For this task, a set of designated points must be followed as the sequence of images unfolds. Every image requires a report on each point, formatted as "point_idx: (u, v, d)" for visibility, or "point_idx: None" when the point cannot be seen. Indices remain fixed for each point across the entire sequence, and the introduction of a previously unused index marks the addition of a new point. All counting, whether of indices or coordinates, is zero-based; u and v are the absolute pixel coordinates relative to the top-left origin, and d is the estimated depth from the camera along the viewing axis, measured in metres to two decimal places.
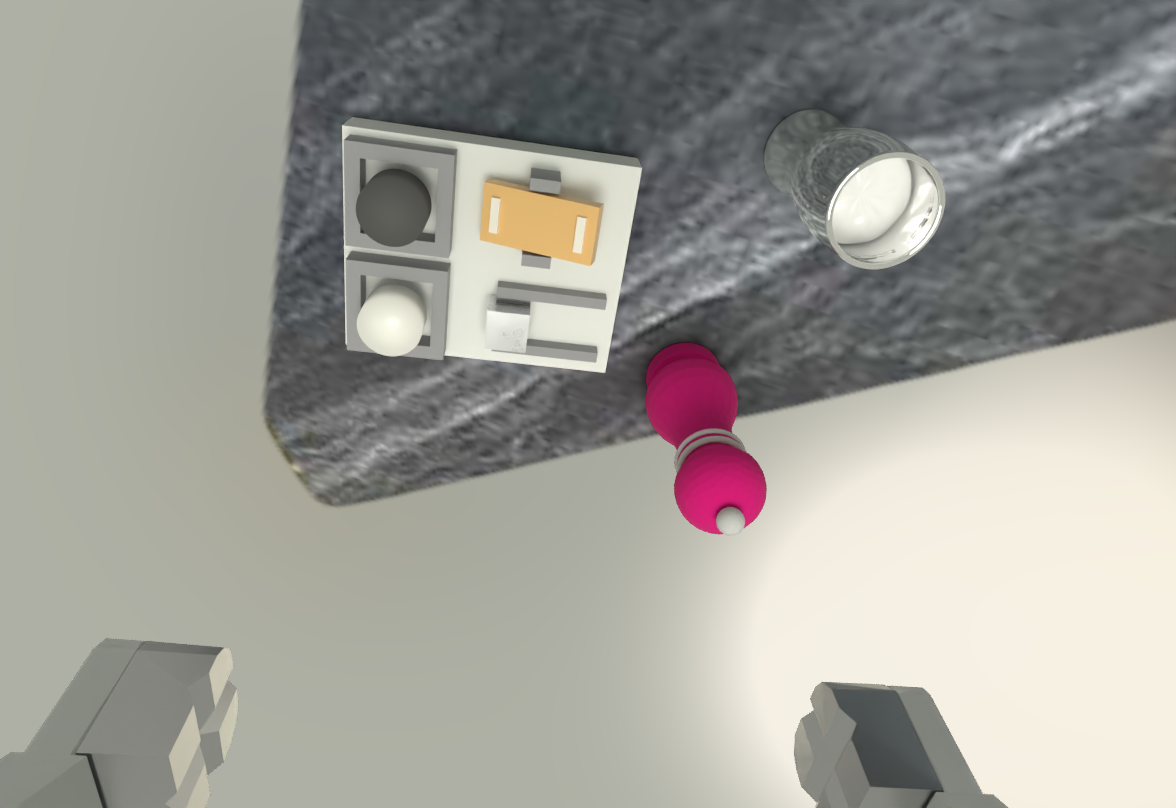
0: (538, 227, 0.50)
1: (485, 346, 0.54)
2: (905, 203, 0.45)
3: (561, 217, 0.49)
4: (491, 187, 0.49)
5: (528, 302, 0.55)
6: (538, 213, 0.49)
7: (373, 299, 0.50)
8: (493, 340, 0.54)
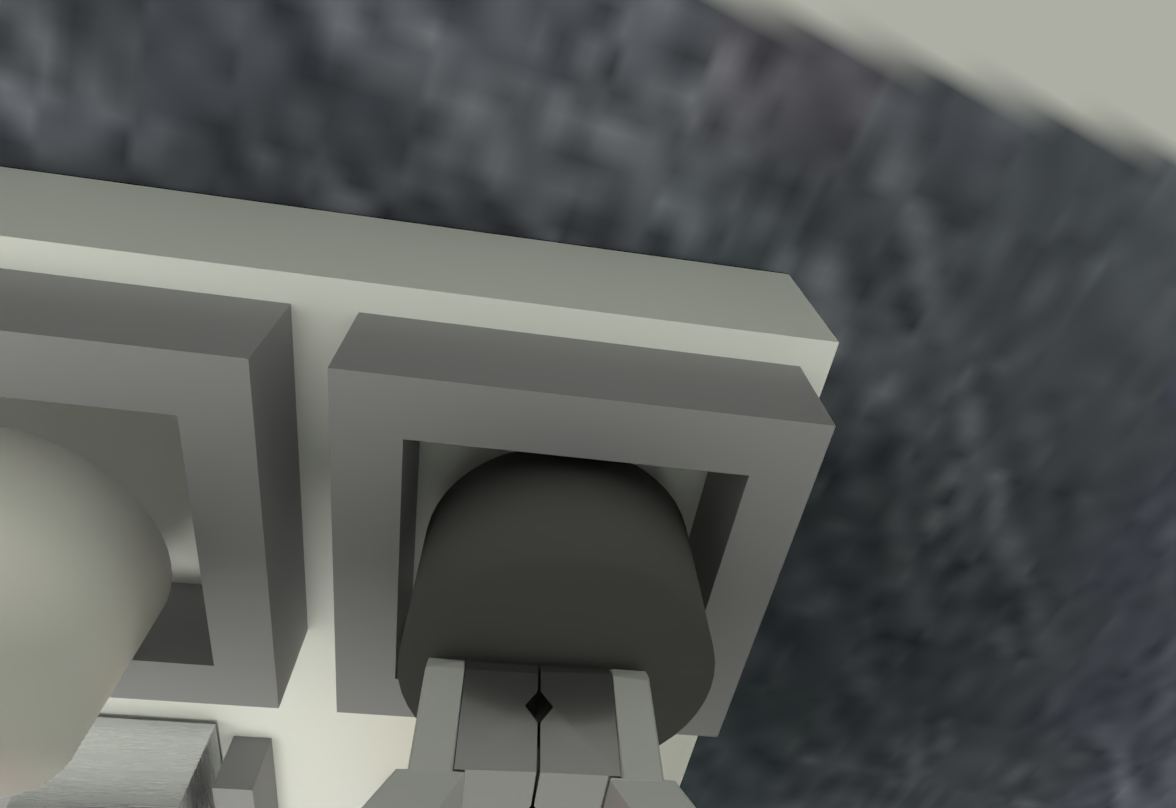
0: None
1: None
2: None
3: None
4: None
5: None
6: None
7: (38, 630, 0.08)
8: None
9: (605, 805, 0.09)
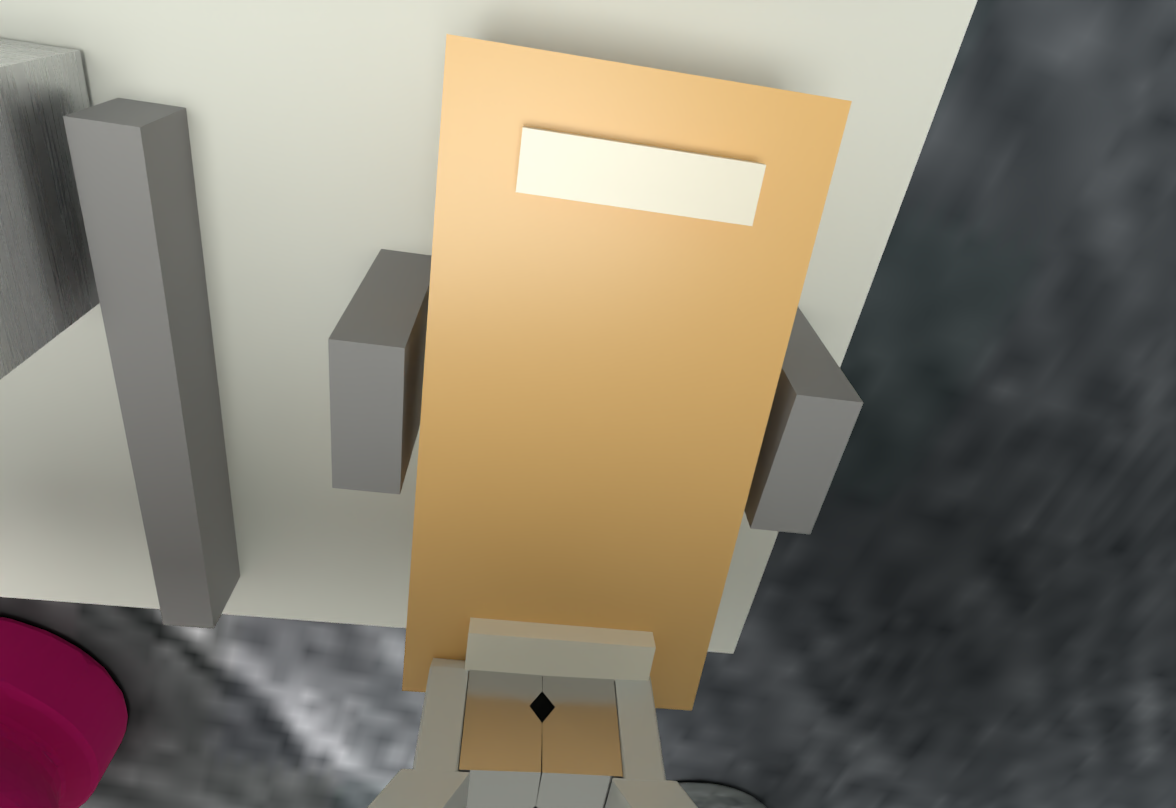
0: (576, 443, 0.09)
1: None
2: None
3: (639, 557, 0.09)
4: (813, 153, 0.08)
5: (93, 294, 0.10)
6: (658, 443, 0.09)
7: None
8: None
9: (607, 805, 0.09)
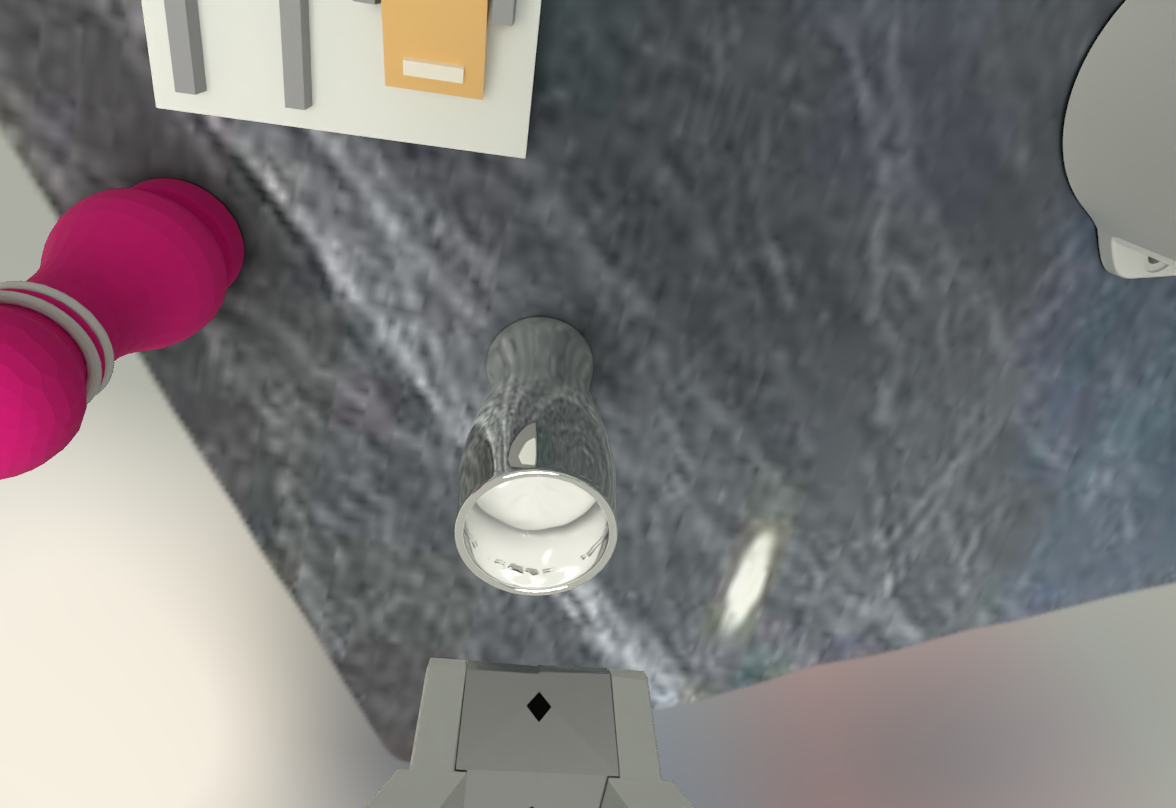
0: None
1: None
2: (526, 527, 0.35)
3: (455, 35, 0.29)
4: None
5: None
6: None
7: None
8: None
9: (603, 805, 0.09)
